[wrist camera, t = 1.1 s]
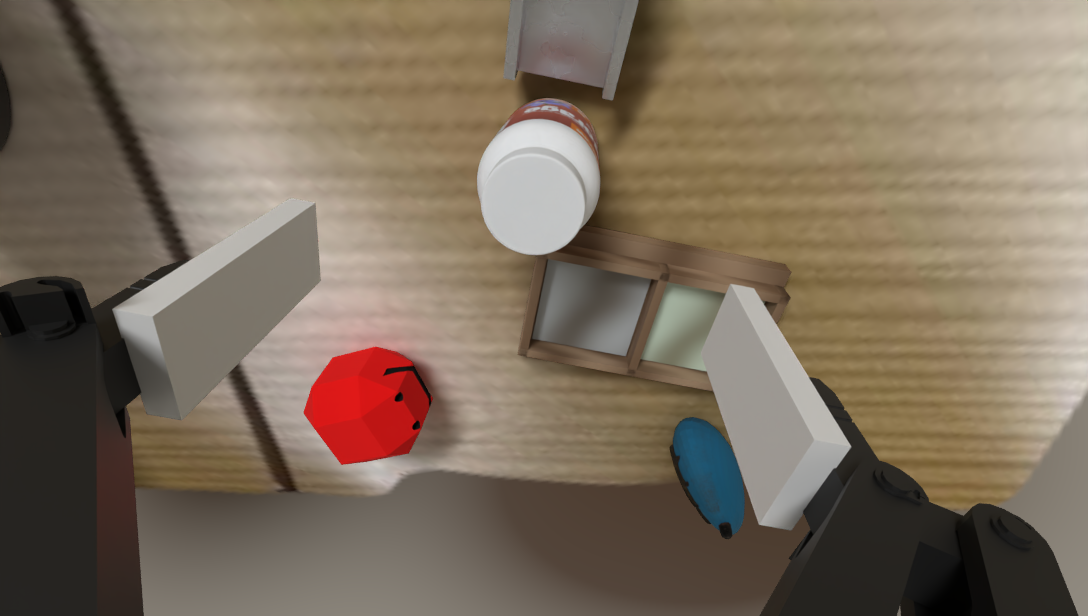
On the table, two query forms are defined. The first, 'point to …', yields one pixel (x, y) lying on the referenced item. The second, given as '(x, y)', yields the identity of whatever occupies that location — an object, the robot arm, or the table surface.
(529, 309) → the divided sorting tray
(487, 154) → the pill bottle
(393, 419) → the ball
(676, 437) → the ornament
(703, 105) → the table surface
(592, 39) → the feeder chute
